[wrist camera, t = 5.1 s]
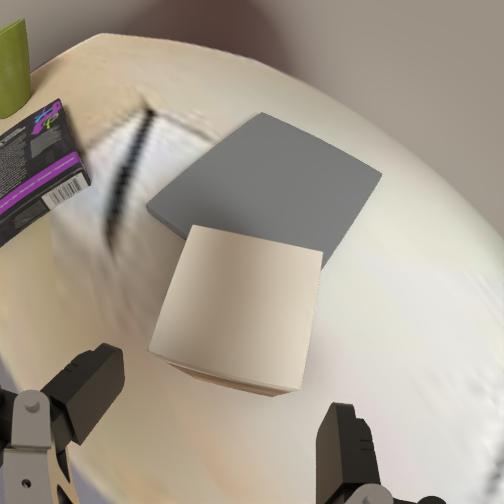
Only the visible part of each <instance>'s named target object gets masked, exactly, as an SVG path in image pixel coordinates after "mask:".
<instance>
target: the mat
mask: <svg viewBox="0 0 504 504" xmlns="http://www.w3.org/2000/svg"><path fill="white" fill-rule="evenodd" d="M381 176H382V173H380V172H379V171H377V170H375V169H374V168H372V167H370V166H368V165H367V164H365V163H363V162H362V161H360V160H358V159H356V158H354V157H353V156H351V155H349V154H347V153H345V152H344V151H342V150H340V149H338V148H336V147H334V146H332V145H330V144H328V143H327V142H325V141H323V140H321V139H319V138H317V137H315V136H313V135H311V134H309V133H307V132H305V131H302V130H300V129H298V128H296V127H294V126H292V125H290V124H288V123H285V122H283V121H281V120H279V119H276V118H274V117H272V116H270V115H267V114H265V113H263V112H262V113H260V114H259V115H257V116H256V117H254V118H253V119H252V120H250V121H249V122H247V123H246V124H245V125H243V126H242V127H241V128H239V129H238V130H236V131H235V132H234V133H232V134H231V135H230V136H228V137H227V138H226V139H224V140H223V141H222V142H220V143H219V144H218V145H217V146H215V147H214V148H213V149H211V150H210V151H209V152H208V153H206V154H205V155H204V156H203V157H201V158H200V159H199V160H198V161H196V162H195V163H194V164H193V165H191V166H190V167H189V168H188V169H187V170H185V171H184V172H183V173H182V174H180V175H179V176H178V177H177V178H176V179H175V180H173V181H172V182H171V183H170V184H169V185H168V186H166V187H165V188H164V189H163V190H162V191H161V192H159V193H158V194H157V195H156V196H155V197H154V198H153V199H152V200H150V201H149V202H148V203H147V204H146V207H147V210H148V212H149V213H150V214H151V215H153V216H154V217H155V218H157V219H158V220H159V221H161V222H162V223H164V224H165V225H166V226H168V227H169V228H170V229H172V230H173V231H174V232H176V233H177V234H178V235H180V236H181V237H182V238H184V239H185V240H186V241H187V238H188V236H189V233H190V230H191V228H192V225H197V226H202V227H207V228H212V229H217V230H222V231H227V232H231V233H236V234H241V235H246V236H251V237H255V238H260V239H265V240H270V241H274V242H279V243H284V244H288V245H293V246H298V247H302V248H307V249H312V250H316V251H321V252H323V256H322V264H321V270H322V269H323V267H324V266H325V264H326V263H327V261H328V260H329V258H330V257H331V255H332V254H333V252H334V251H335V249H336V248H337V246H338V245H339V243H340V242H341V240H342V239H343V237H344V236H345V234H346V233H347V231H348V230H349V228H350V227H351V225H352V223H353V222H354V220H355V219H356V217H357V216H358V214H359V213H360V211H361V209H362V208H363V206H364V205H365V203H366V201H367V200H368V198H369V197H370V195H371V193H372V192H373V190H374V188H375V187H376V185H377V183H378V182H379V180H380V178H381Z"/></svg>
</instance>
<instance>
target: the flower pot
mask: <svg viewBox="0 0 504 504" xmlns="http://www.w3.org/2000/svg"><path fill="white" fill-rule="evenodd" d="M29 98H30V66H29V52H28V42H27V33H26V26H25V19H24V18H22V19H20V20H18V21H16V22H14V23H12V24H10V25H8V26H7V27H5V28H3V29H2V30H0V119H3V118H6V117H8V116H10V115H12V114H13V113H15V112H16V111H17V110H19V109H20V108H21V107H22V106H23V105H24V104H25V103H26V102H27V101H28V100H29Z"/></svg>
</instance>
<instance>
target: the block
mask: <svg viewBox="0 0 504 504" xmlns="http://www.w3.org/2000/svg"><path fill="white" fill-rule="evenodd" d="M322 256H323V252H321V251H316V250H312V249H307V248H302V247H298V246H293V245H288V244H284V243H279V242H274V241H270V240H265V239H260V238H255V237H251V236H246V235H241V234H236V233H231V232H227V231H222V230H217V229H212V228H207V227H202V226H197V225H192V228H191V230H190V233H189V236H188V238H187V241H186V243H185V246H184V248H183V251H182V254H181V256H180V259H179V262H178V264H177V267H176V270H175V272H174V275H173V278H172V280H171V283H170V286H169V289H168V292H167V294H166V297H165V300H164V303H163V306H162V309H161V312H160V315H159V317H158V320H157V323H156V326H155V329H154V332H153V335H152V339H151V342H150V345H149V348H148V351H149V352H150V353H152V354H154V355H155V356H157V357H158V358H160V359H162V360H163V361H165V362H167V363H169V364H170V365H172V366H174V367H175V368H177V369H179V370H181V371H183V372H184V373H186V374H188V375H190V376H192V377H193V378H196V379H199V380H203V381H206V382H210V383H214V384H218V385H221V386H225V387H229V388H233V389H238V390H242V391H246V392H251V393H255V394H260V395H265V396H270V397H273V396H277V395H281V394H285V393H289V392H293V391H296V390H300V388H301V383H302V378H303V373H304V368H305V363H306V358H307V352H308V347H309V341H310V336H311V330H312V324H313V318H314V312H315V305H316V299H317V292H318V285H319V278H320V271H321V264H322Z"/></svg>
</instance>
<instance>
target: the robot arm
mask: <svg viewBox="0 0 504 504" xmlns="http://www.w3.org/2000/svg"><path fill="white" fill-rule="evenodd" d="M124 381H125V375H124V364H123V352H122V350H121V349H119V348H117V347H114V346H112V345H109V344H107V343H102V344H101V345H100V346H99V347H97V348H96V349H95V350H94V351H91V350H88V351H86V352H84V353H81V354H79V355H78V356H77V357H75V358H74V359H73V360H72V361H71V363H70V364H68V365H67V366H66V367H65V368H64V370H61V371H60V372H59V373H58V374H57V375H56V376H55V377H54V378H53V379H52V380H51V381H50V382H49V383H48V384H47V385H46V386H45V387H44V388H43V389H41V390H40V391H37V390H26V391H23V392H21V393H20V394H19V395H18V394H15V393H12V392H9V391H6V390H3V389H2V388H1V386H0V467H1V466H2V465H3V467H4V494H5V504H80V502H79V499H78V496H77V494H76V491H75V489H74V484H73V479H72V473H71V467H70V460H69V453H68V447H67V445H68V444H69V442H70V441H73V442H75V443H77V444H79V445H80V446H81V444H82V443H83V442H84V440H85V439H86V437H87V436H88V435H89V433H90V432H91V431H92V429H93V428H94V427H95V425H96V424H97V423H98V421H99V420H100V419H101V417H102V416H103V415H104V413H105V412H106V411H107V409H108V408H109V407H110V405H111V404H112V403H113V401H114V400H115V399H116V397H117V396H118V395H119V393H120V392H121V390H122V388H123V386H124ZM316 504H446V502H445V501H444V500H442V499H441V498H439V497H436V496H427V497H424V498H422V499H421V500H420V501H419V502H417V503H414V502H409V501H404V500H399V499H395V498H393V497H392V495H391V493H390V492H389V490H387V489H386V488H385V487H383V486H382V485H381V482H380V477H379V471H378V465H377V460H376V455H375V451H374V444H373V442H372V435H371V430H370V428H369V426H368V425H367V424H366V422H365V421H364V419H360V418H356V416H355V410H354V406H353V405H352V404H344V403H335V402H333V403H332V404H331V405H330V407H329V409H328V412H327V414H326V416H325V418H324V420H323V421H322V423H321V425H320V427H319V430H318V433H317V437H316Z"/></svg>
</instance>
